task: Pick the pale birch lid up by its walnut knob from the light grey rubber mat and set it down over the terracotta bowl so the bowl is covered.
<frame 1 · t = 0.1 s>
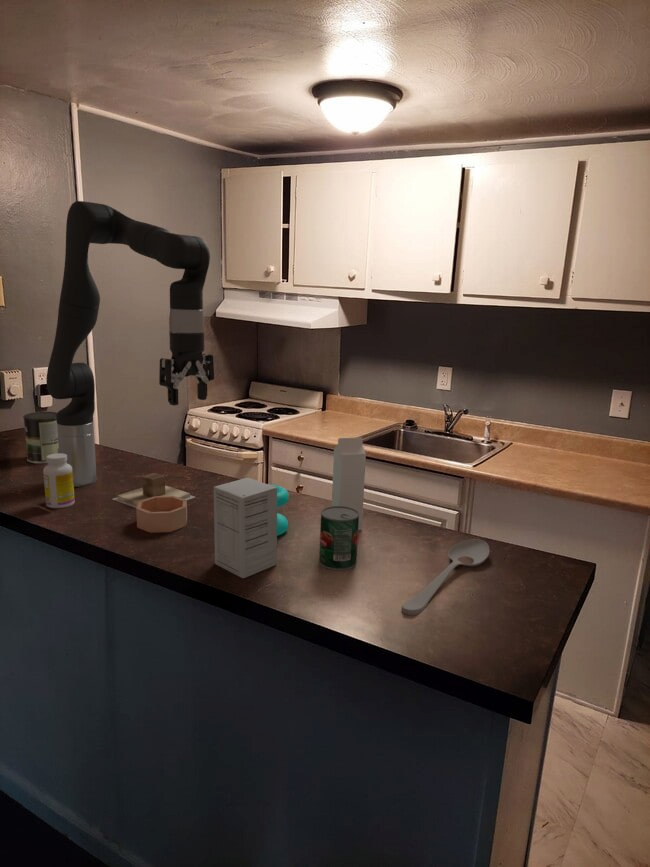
hand: (188, 402, 136), 29 cm above the countertop, fingers open, 8 cm apart
lid: (154, 497, 156), resting on mat
milk: (346, 527, 144), on the countertop
mat: (154, 499, 156), on the countertop
donuts: (266, 531, 140), on the countertop
canned tomato: (337, 562, 125), on the countertop
coffee can: (45, 459, 187), on the countertop
bowl: (162, 524, 141), on the countertop
supplement box: (245, 565, 122), on the countertop
supplement bottle: (60, 505, 150), on the countertop
spoon: (446, 580, 120), on the countertop
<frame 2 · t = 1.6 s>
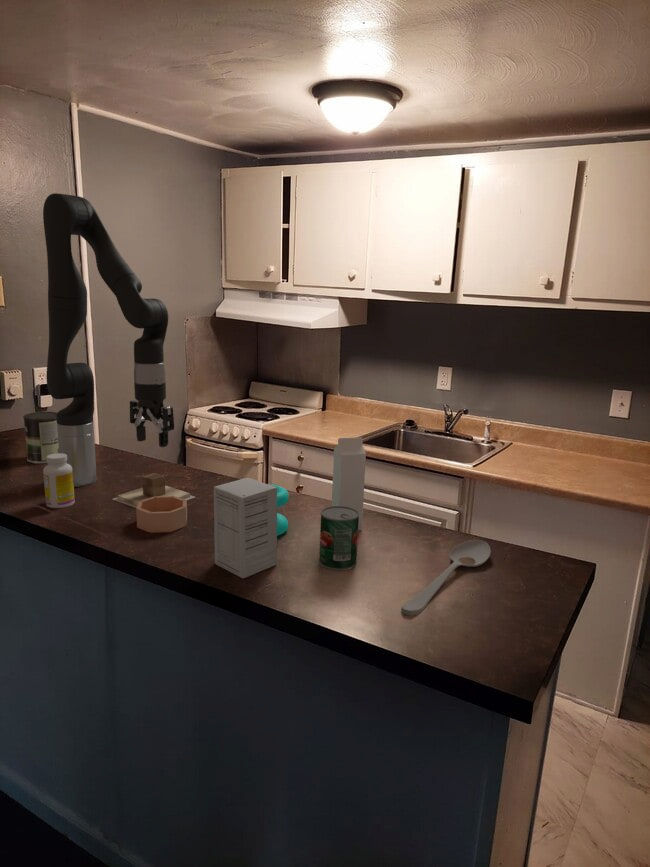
hand: (152, 443, 153), 15 cm above the countertop, fingers open, 8 cm apart
nothing on the countertop moved.
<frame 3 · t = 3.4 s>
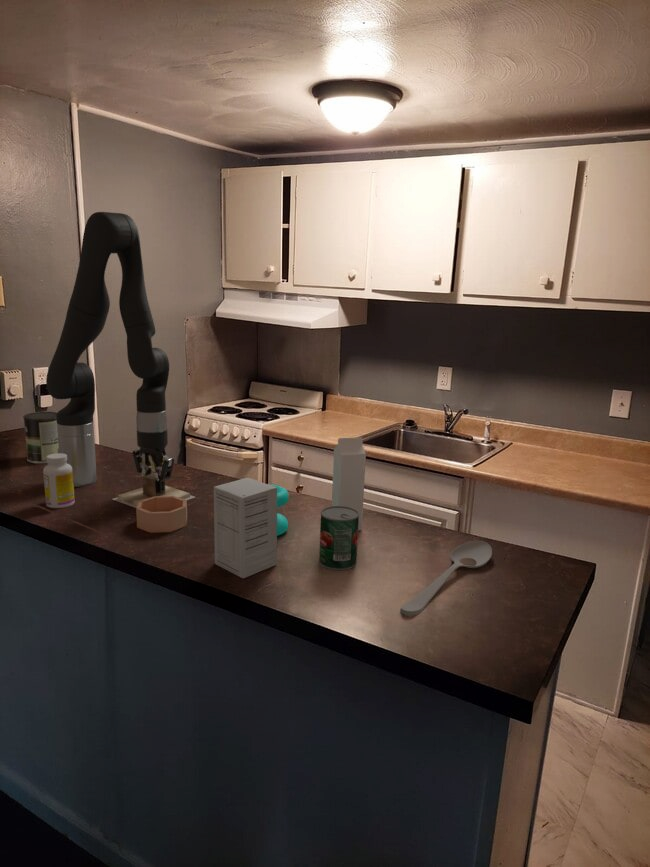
hand: (154, 491, 156), 2 cm above the countertop, fingers closed on lid, 4 cm apart
lid: (154, 497, 156), resting on mat, touching gripper
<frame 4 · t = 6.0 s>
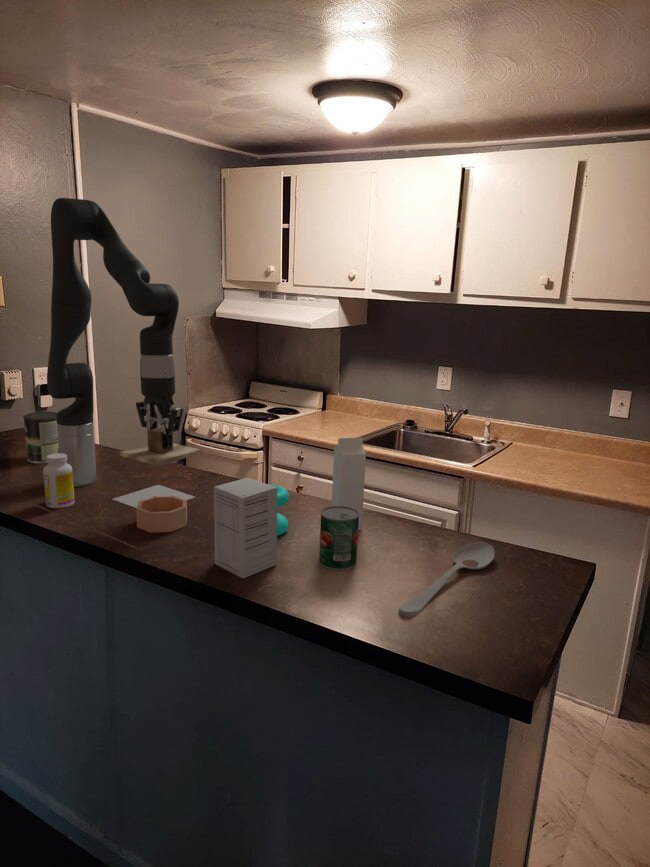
hand: (160, 447, 139), 18 cm above the countertop, fingers closed on lid, 4 cm apart
lid: (161, 454, 140), point 16 cm above the countertop, touching gripper
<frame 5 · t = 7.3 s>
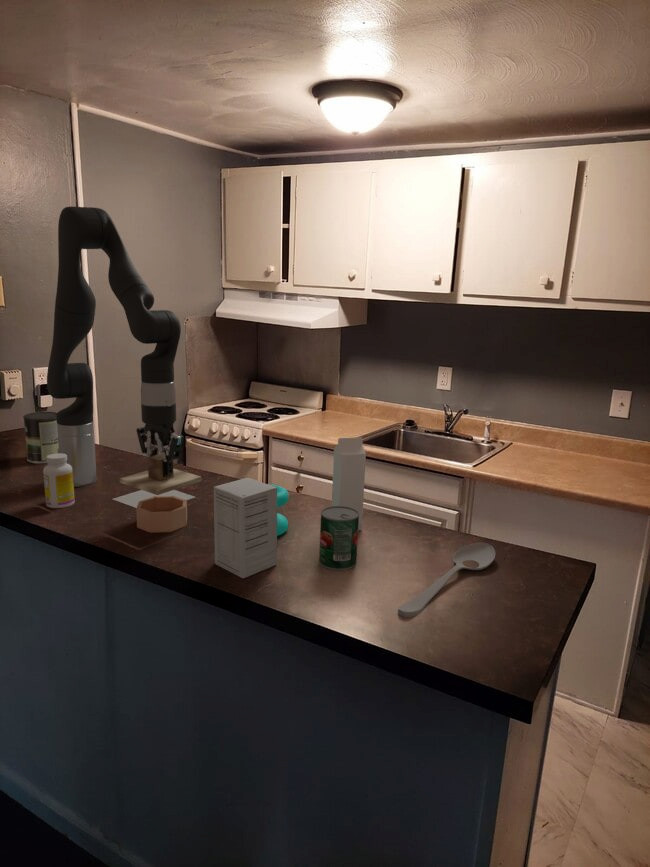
hand: (161, 474, 138), 12 cm above the countertop, fingers closed on lid, 4 cm apart
lid: (161, 481, 138), point 11 cm above the countertop, touching gripper
when the fingers open (8 cm above the countertop, at t = 8.5 s): lid stays where it is, resting on bowl.
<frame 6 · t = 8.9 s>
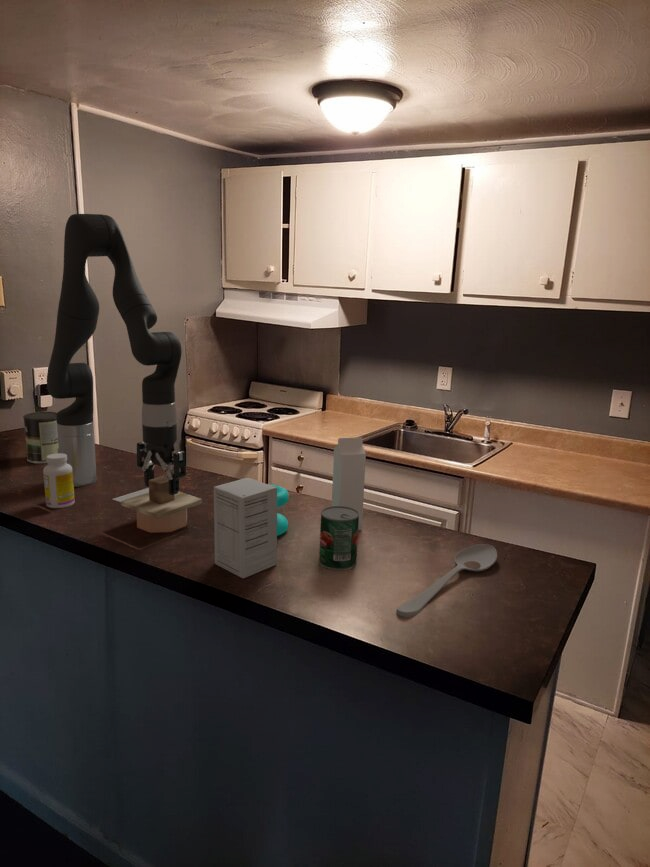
hand: (161, 489, 139), 9 cm above the countertop, fingers open, 8 cm apart
lid: (162, 504, 140), point 5 cm above the countertop, touching bowl
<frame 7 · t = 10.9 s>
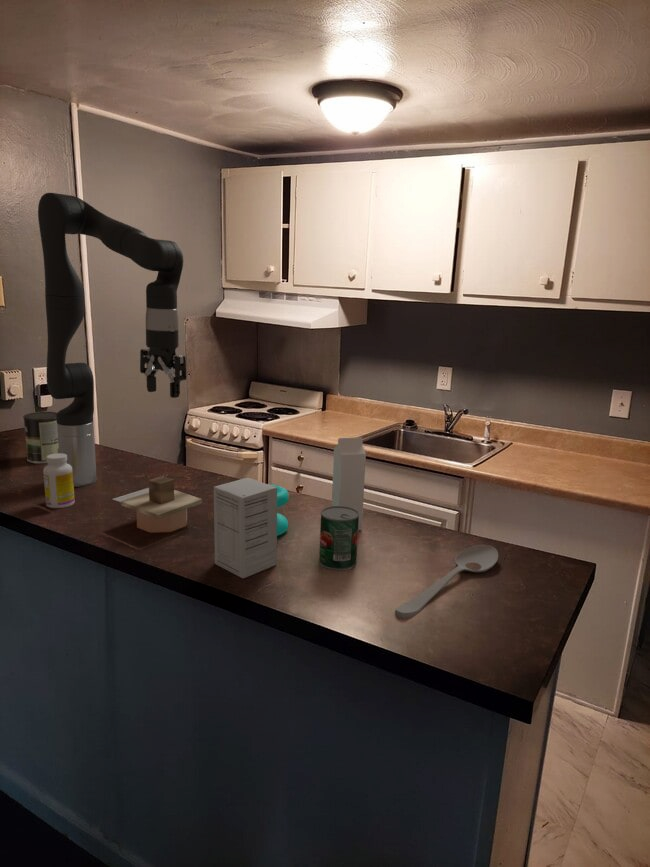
hand: (163, 394, 146), 29 cm above the countertop, fingers open, 8 cm apart
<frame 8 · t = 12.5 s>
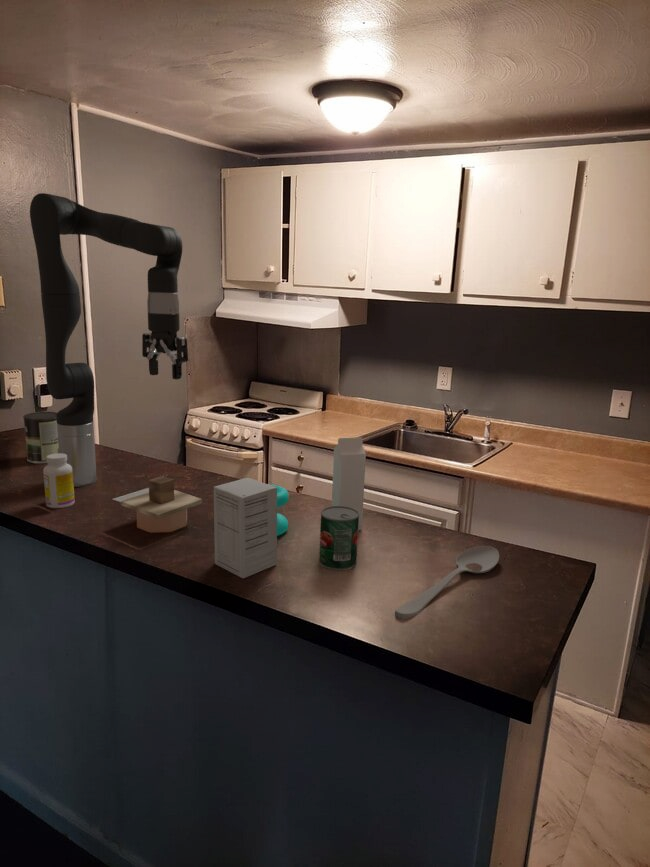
hand: (165, 376, 151), 32 cm above the countertop, fingers open, 8 cm apart
at the end: lid 0.1 cm off-centre on the bowl, point 5.0 cm above the bowl's base; lid tilted 0°; the gripper is holding nothing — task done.
